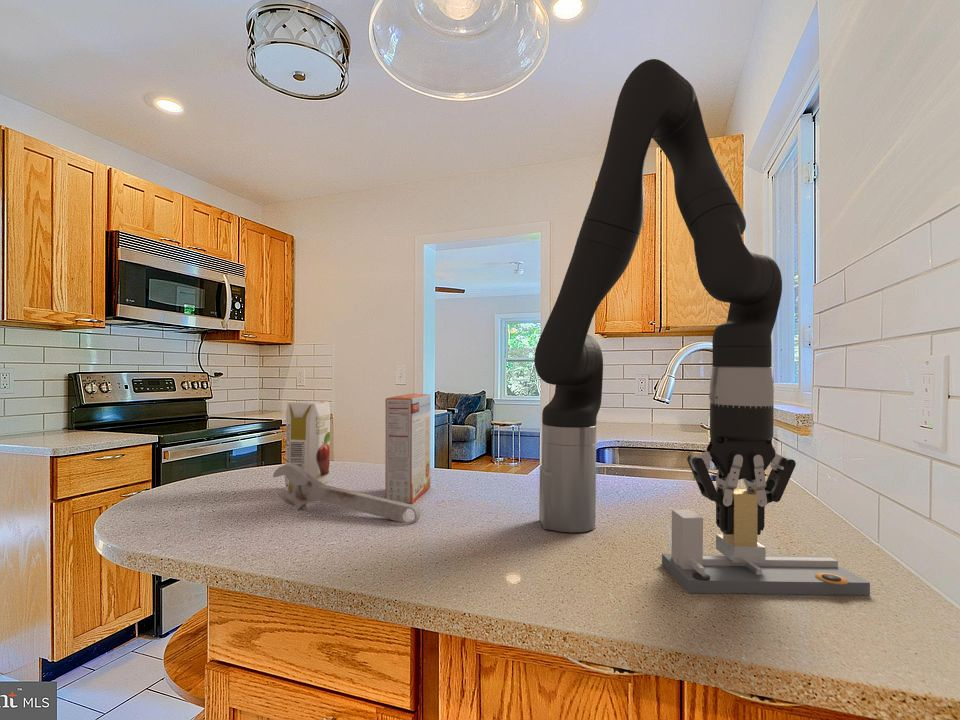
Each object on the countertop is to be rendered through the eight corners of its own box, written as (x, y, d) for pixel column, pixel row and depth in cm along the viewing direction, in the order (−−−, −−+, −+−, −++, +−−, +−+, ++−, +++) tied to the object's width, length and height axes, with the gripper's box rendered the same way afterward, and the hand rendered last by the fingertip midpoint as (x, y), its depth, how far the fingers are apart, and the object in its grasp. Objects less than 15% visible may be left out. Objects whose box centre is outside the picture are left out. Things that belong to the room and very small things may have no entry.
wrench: (413, 541, 89) (269, 504, 98) (417, 538, 91) (275, 502, 100) (419, 495, 89) (274, 462, 98) (423, 492, 90) (280, 460, 100)
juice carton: (280, 494, 108) (281, 402, 108) (300, 485, 116) (302, 400, 116) (314, 496, 106) (315, 403, 107) (332, 487, 115) (334, 401, 115)
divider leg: (742, 574, 64) (743, 500, 64) (715, 553, 71) (716, 487, 71) (775, 574, 64) (775, 501, 64) (745, 553, 71) (745, 487, 71)
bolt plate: (690, 595, 62) (691, 528, 62) (661, 564, 72) (662, 506, 72) (874, 597, 62) (874, 530, 62) (821, 566, 72) (821, 508, 72)
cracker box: (404, 487, 116) (406, 393, 116) (431, 488, 115) (432, 393, 115) (382, 503, 102) (384, 396, 102) (412, 505, 101) (413, 397, 101)
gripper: (699, 403, 65) (698, 542, 65) (812, 404, 65) (811, 543, 65) (676, 399, 72) (675, 523, 72) (777, 400, 72) (777, 525, 72)
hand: (740, 532), depth 68 cm, fingers closed on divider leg, 3 cm apart
